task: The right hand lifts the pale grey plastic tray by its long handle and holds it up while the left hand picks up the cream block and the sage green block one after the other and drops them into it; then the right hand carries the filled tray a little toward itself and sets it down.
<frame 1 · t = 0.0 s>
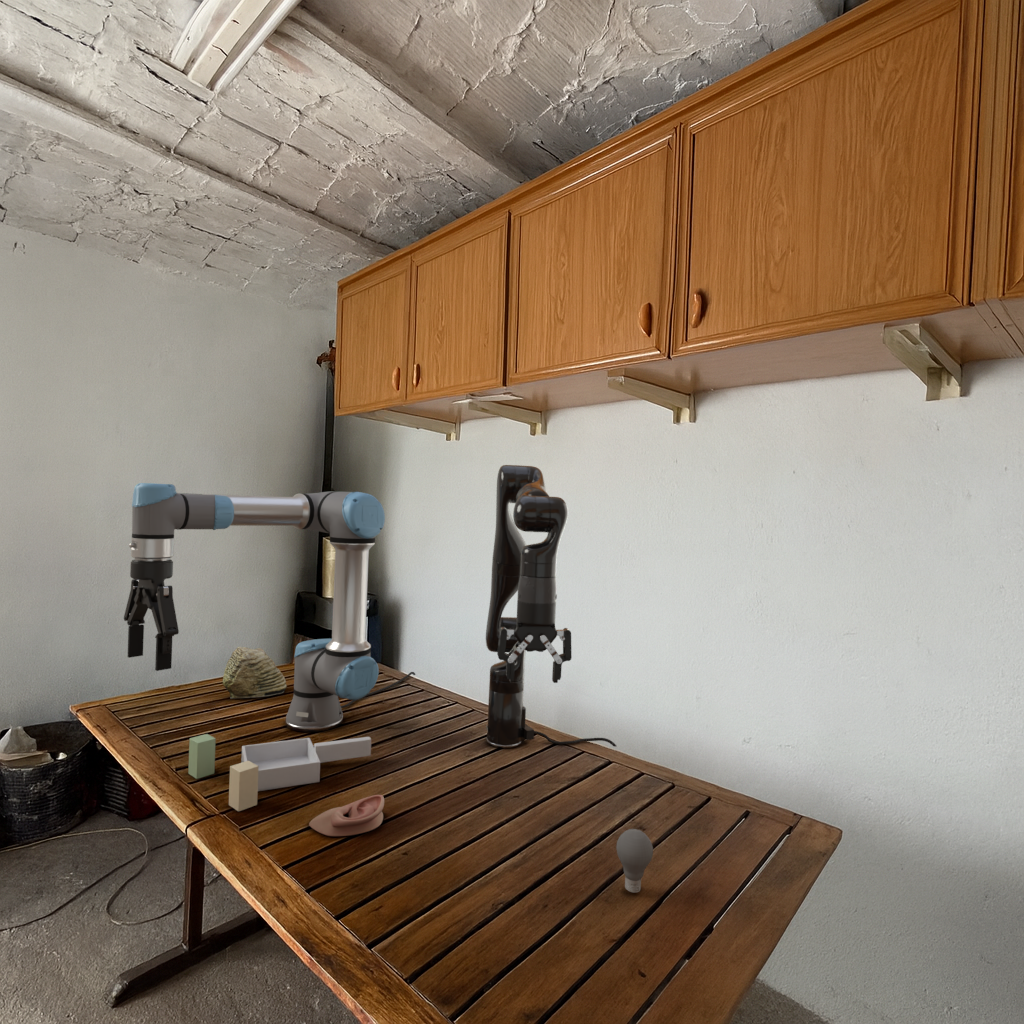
left hand: (148, 662, 129), 28 cm above the table, fingers open, 13 cm apart
right hand: (533, 681, 123), 29 cm above the table, fingers open, 8 cm apart
block 2: (201, 773, 142), on the table
light bulb: (632, 891, 106), on the table
block 1: (242, 805, 129), on the table
fossil: (254, 694, 198), on the table
tray: (279, 773, 144), on the table
anatomical model: (347, 823, 124), on the table
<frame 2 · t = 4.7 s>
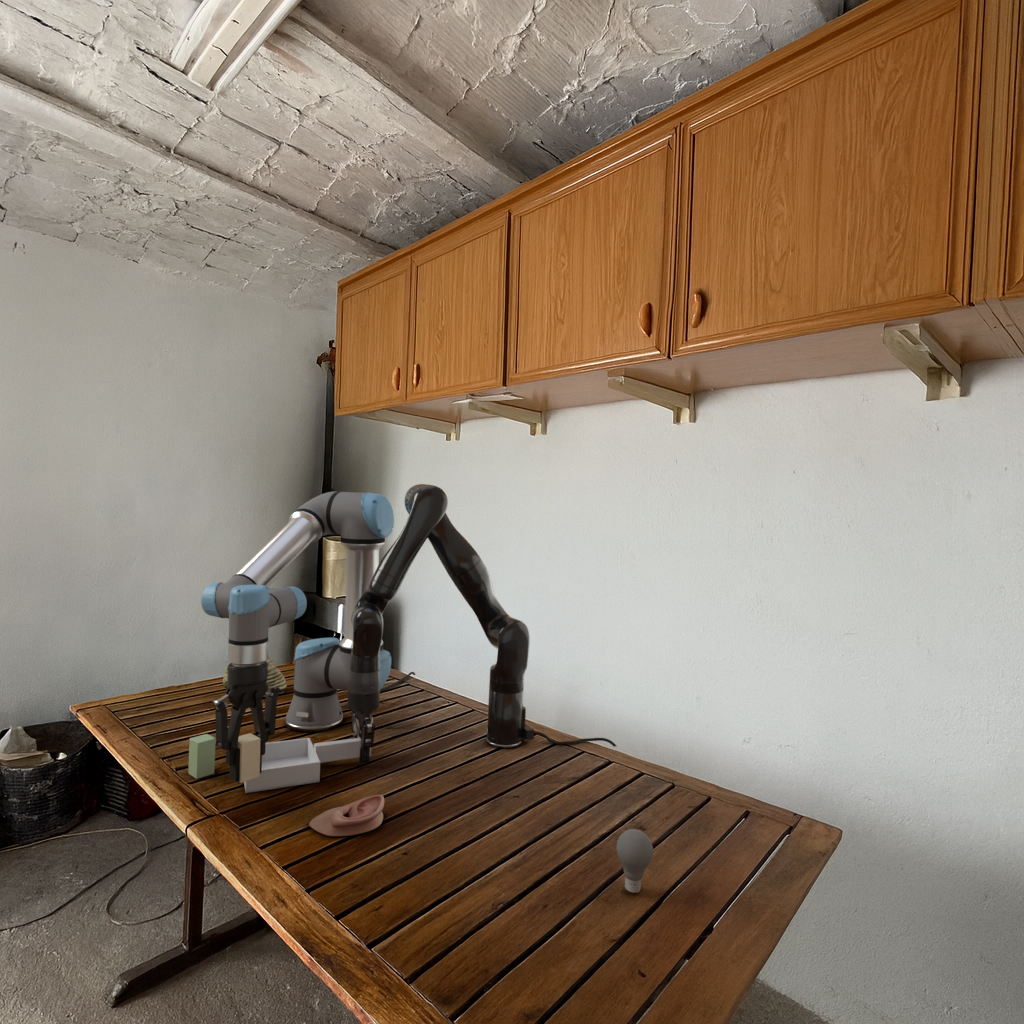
left hand: (245, 775, 129), 6 cm above the table, fingers closed on block 1, 4 cm apart
right hand: (361, 757, 152), 1 cm above the table, fingers open, 5 cm apart
block 1: (245, 776, 129), point 6 cm above the table, touching left hand
everything else where it was.
when the left hand's fingers open (19 cm above the table, at t = 9.3 s): block 1 drops 6 cm, resting on tray.
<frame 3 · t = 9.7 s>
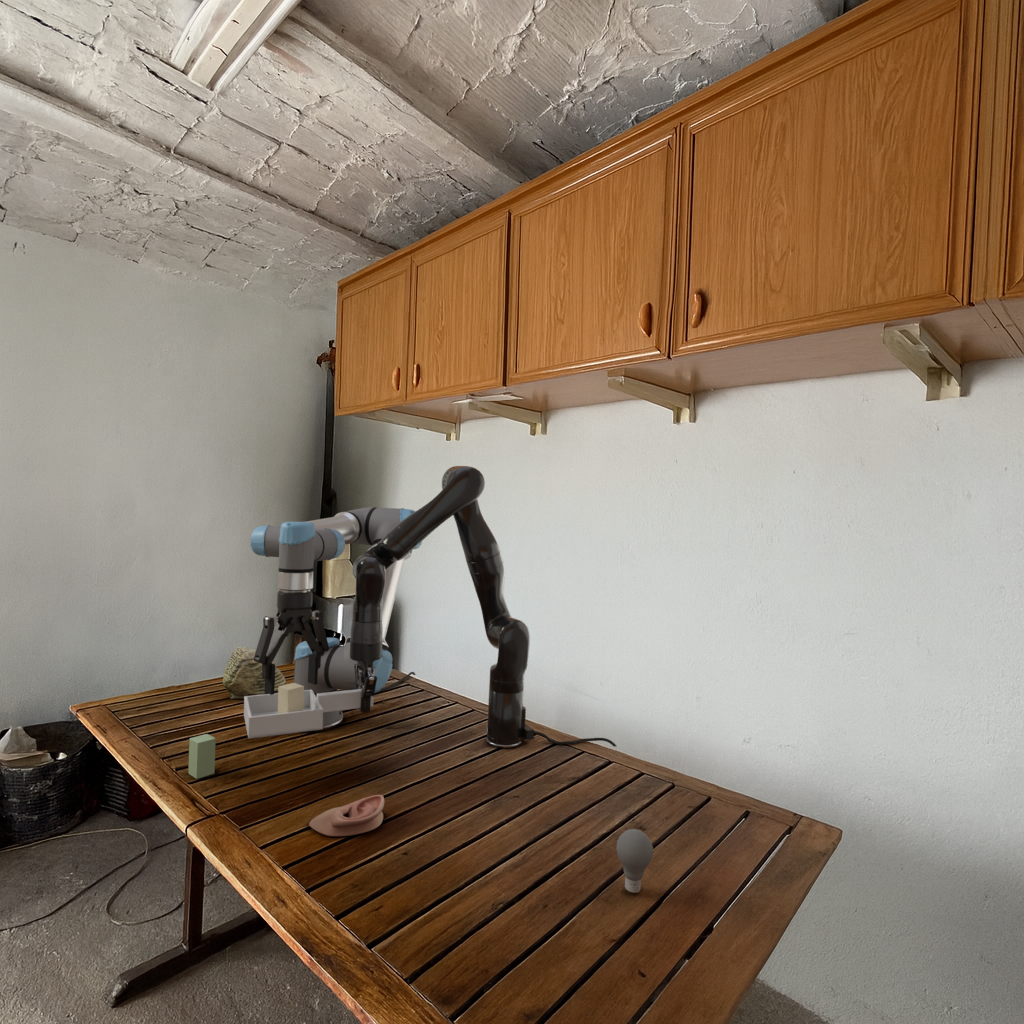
left hand: (291, 688, 143), 20 cm above the table, fingers open, 10 cm apart
right hand: (364, 710, 152), 12 cm above the table, fingers closed on tray, 2 cm apart
block 1: (290, 721, 143), point 12 cm above the table, touching tray
tray: (282, 722, 144), point 12 cm above the table, touching block 1, right hand
everything else where it was.
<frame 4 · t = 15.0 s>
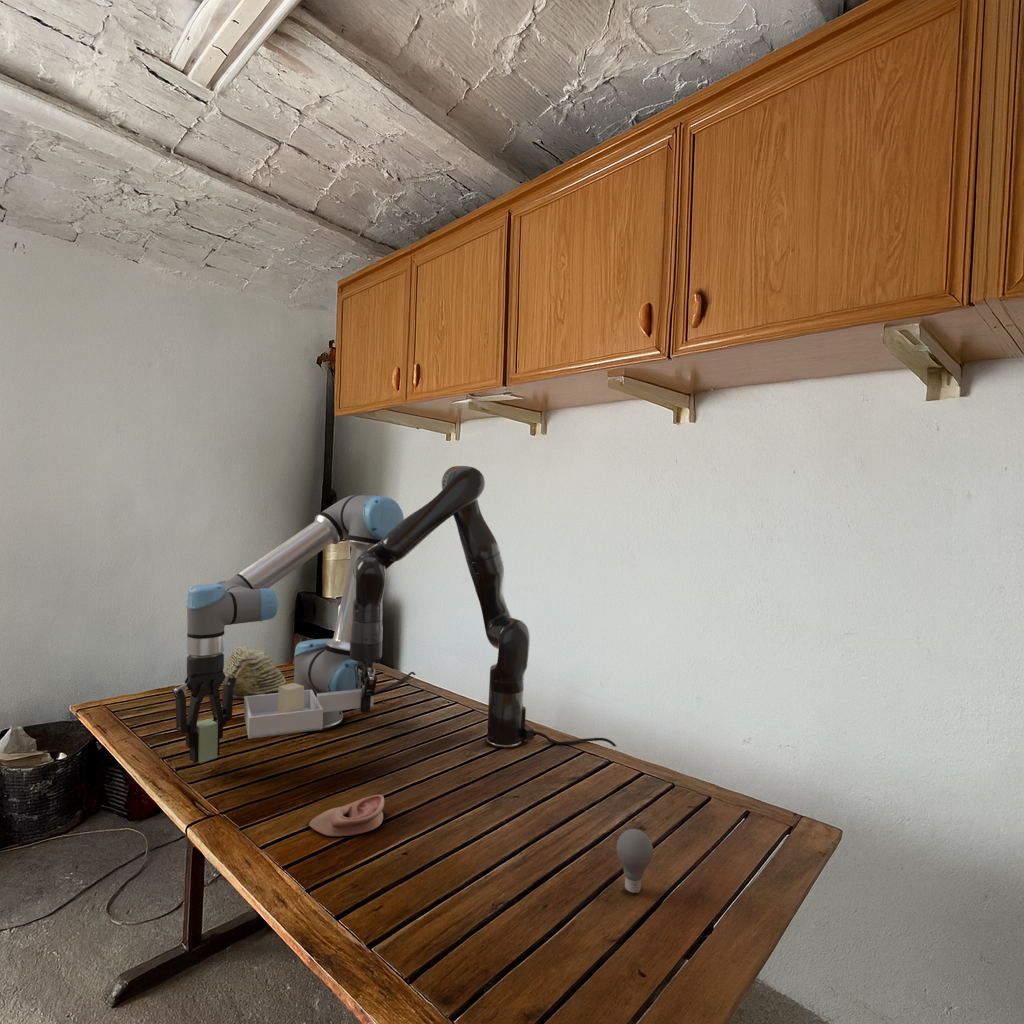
left hand: (204, 756, 142), 4 cm above the table, fingers closed on block 2, 4 cm apart
right hand: (364, 710, 152), 12 cm above the table, fingers closed on tray, 2 cm apart
block 2: (204, 758, 142), point 3 cm above the table, touching left hand
tray: (282, 722, 144), point 12 cm above the table, touching block 1, right hand
everything else where it was.
when the left hand's fingers open (19 cm above the table, at t = 18.1 s): block 2 drops 6 cm, resting on tray.
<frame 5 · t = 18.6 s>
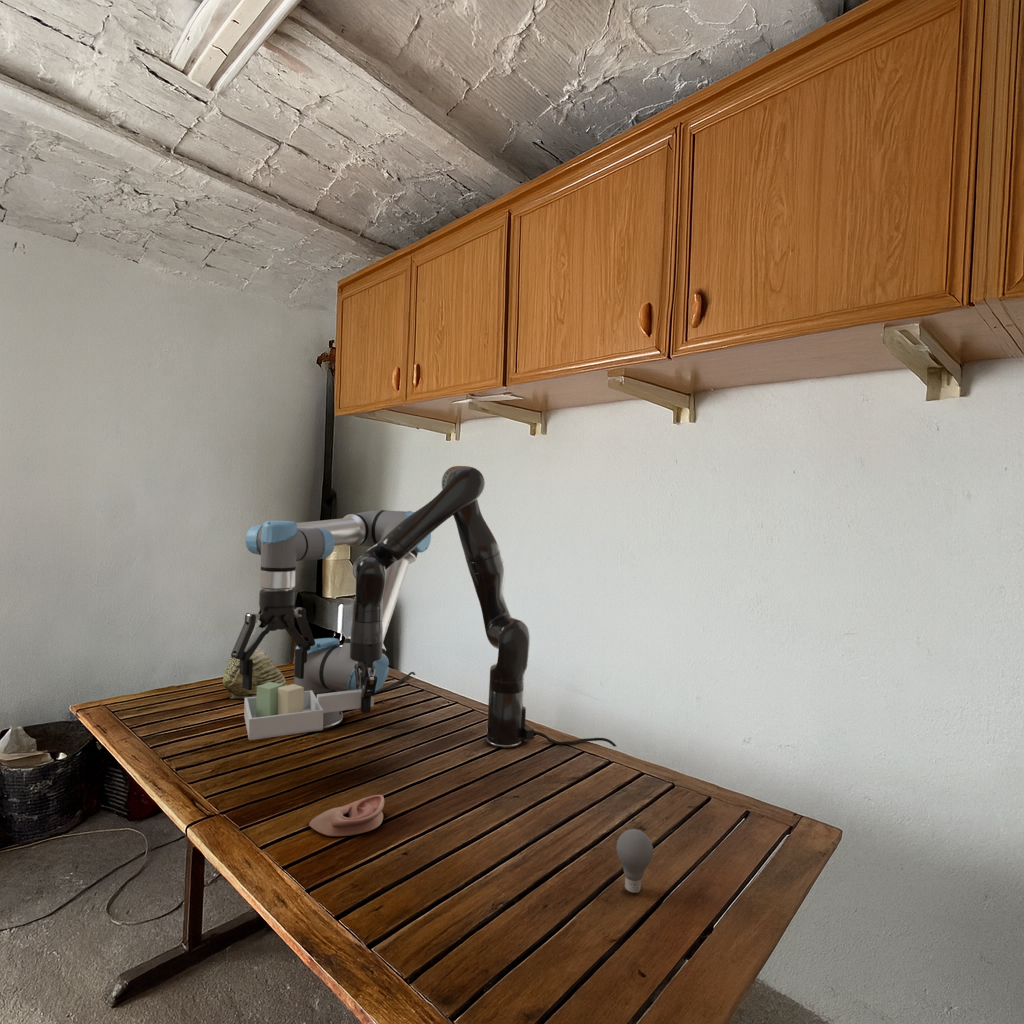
left hand: (273, 683, 144), 20 cm above the table, fingers open, 12 cm apart
right hand: (364, 710, 152), 12 cm above the table, fingers closed on tray, 2 cm apart
block 2: (269, 720, 144), point 12 cm above the table, touching tray
tray: (282, 723, 144), point 11 cm above the table, touching block 1, block 2, right hand
everything else where it was.
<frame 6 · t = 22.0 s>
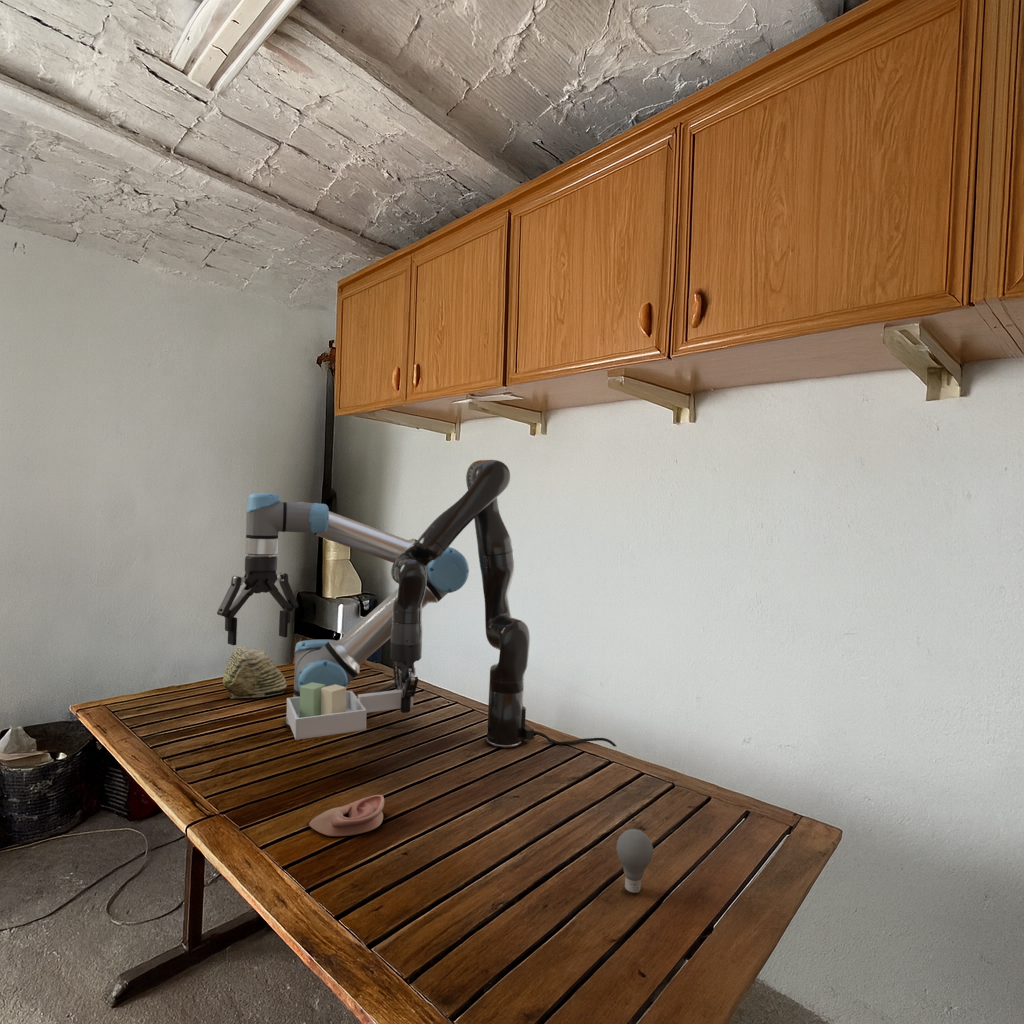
left hand: (258, 640, 158), 27 cm above the table, fingers open, 13 cm apart
right hand: (403, 710, 154), 12 cm above the table, fingers closed on tray
block 2: (312, 719, 146), point 12 cm above the table, touching tray
block 1: (333, 722, 145), point 12 cm above the table, touching tray
tray: (325, 723, 146), point 11 cm above the table, touching block 1, block 2, right hand
everything else where it was.
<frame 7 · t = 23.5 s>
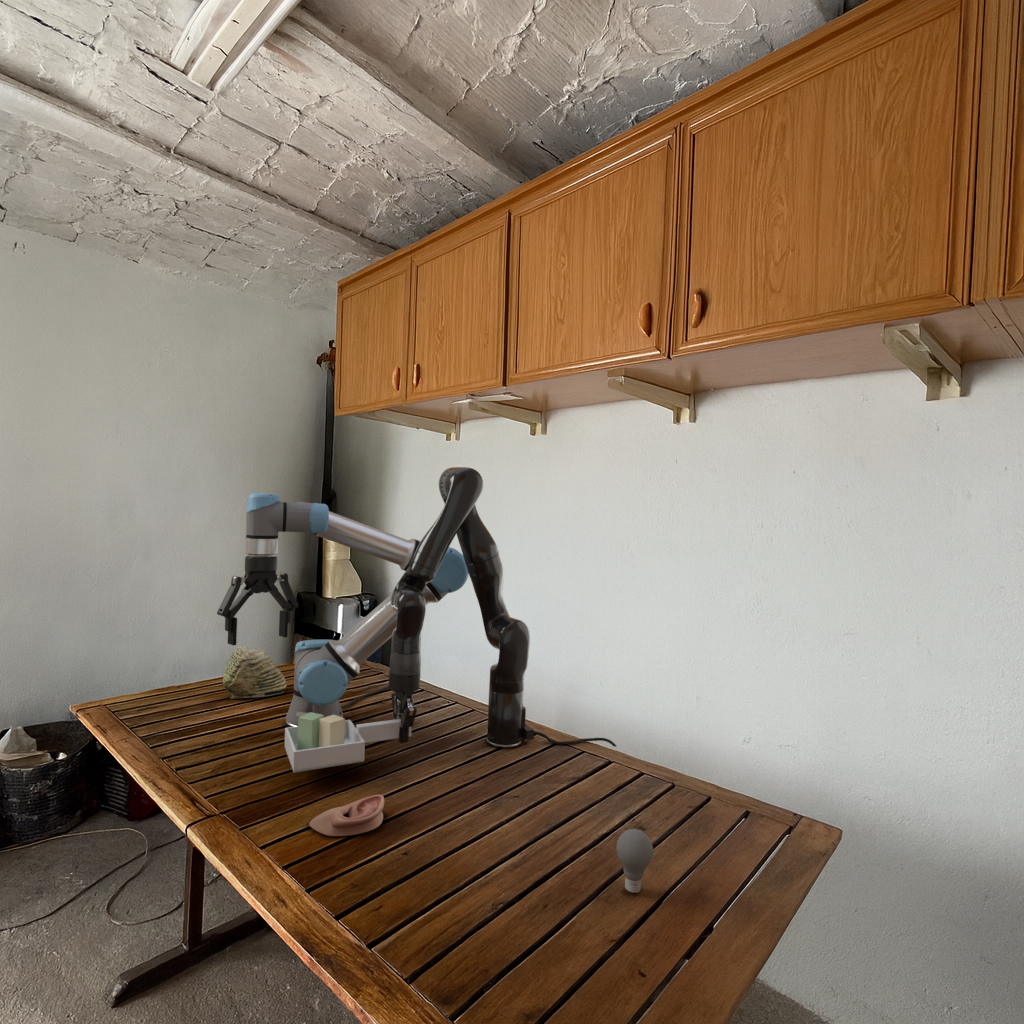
left hand: (258, 640, 158), 27 cm above the table, fingers open, 13 cm apart
right hand: (402, 739, 154), 5 cm above the table, fingers closed on tray
block 2: (310, 750, 146), point 5 cm above the table, touching tray
block 1: (331, 753, 145), point 5 cm above the table, touching tray
tray: (323, 753, 146), point 4 cm above the table, touching block 1, block 2, right hand
everything else where it was.
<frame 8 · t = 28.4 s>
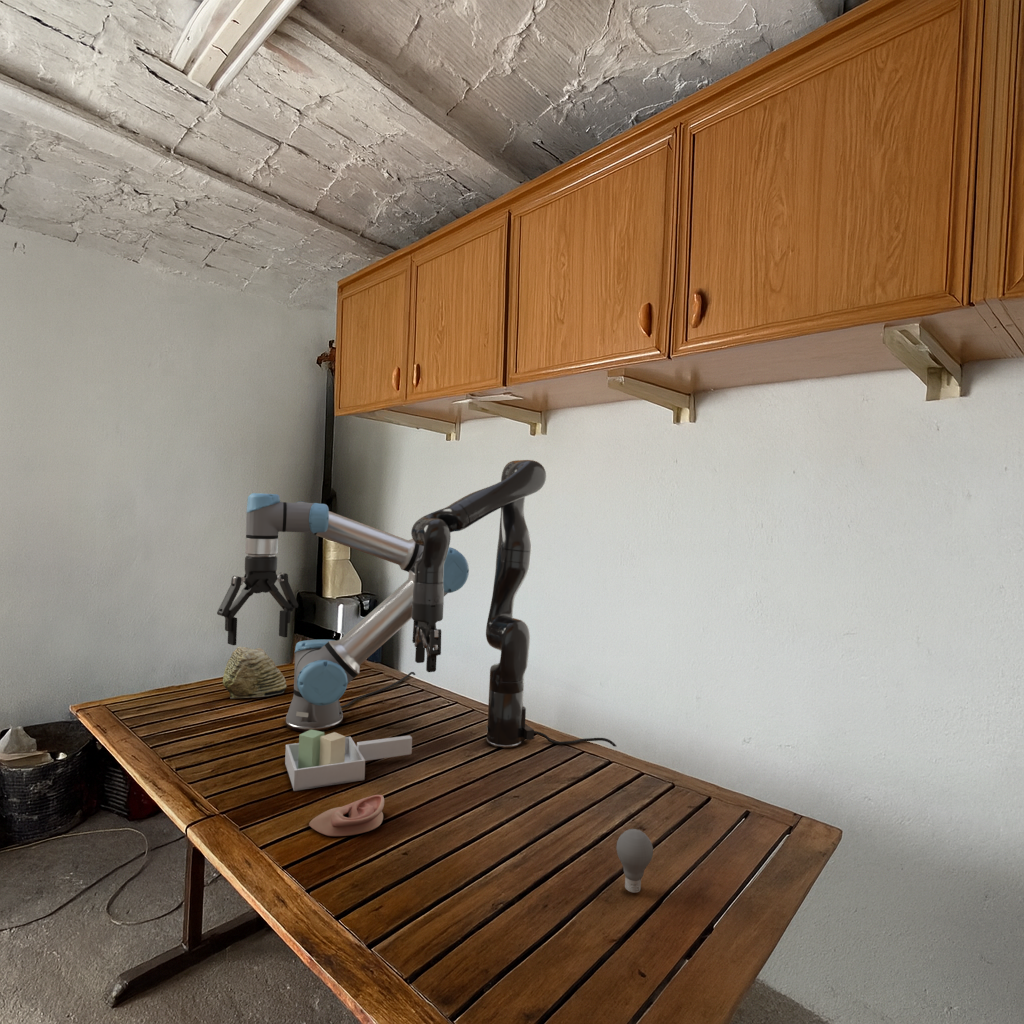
left hand: (258, 640, 158), 27 cm above the table, fingers open, 13 cm apart
right hand: (425, 666, 153), 23 cm above the table, fingers open, 8 cm apart
block 2: (310, 767, 146), resting on tray
block 1: (331, 771, 145), resting on tray
tray: (323, 771, 146), on the table, touching block 1, block 2
everything else where it was.
at the end: block 1 inside the target area on the tray (2.0 cm from its centre), point 0.5 cm above the tray's base; block 2 inside the target area on the tray (3.3 cm from its centre), point 0.5 cm above the tray's base; tray inside the target area (0.4 cm from its centre), on the table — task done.
